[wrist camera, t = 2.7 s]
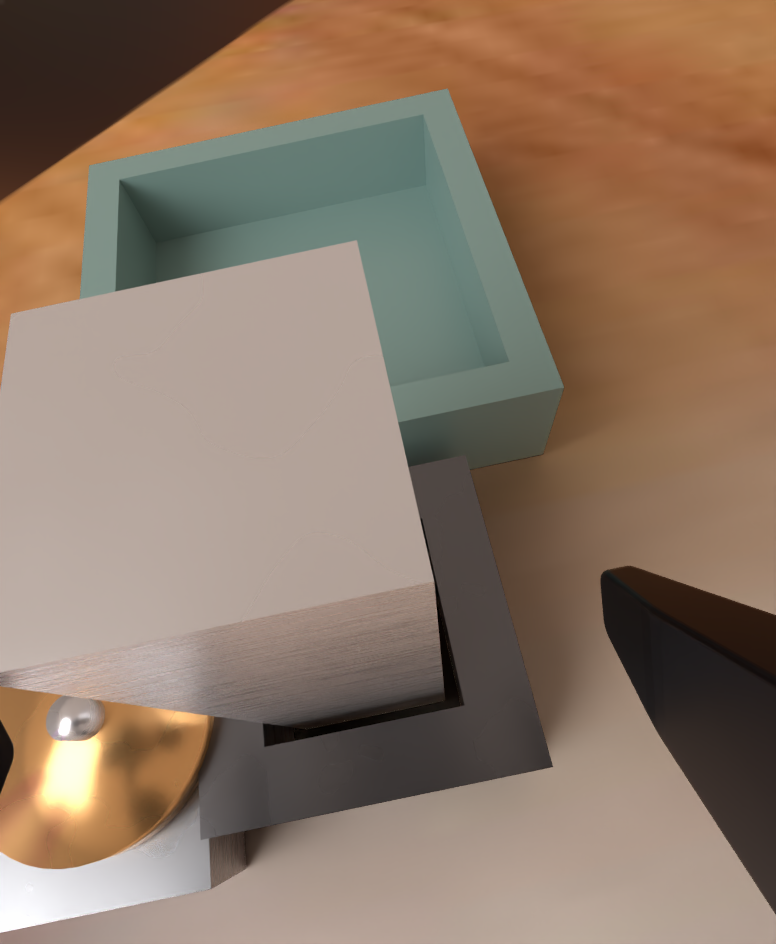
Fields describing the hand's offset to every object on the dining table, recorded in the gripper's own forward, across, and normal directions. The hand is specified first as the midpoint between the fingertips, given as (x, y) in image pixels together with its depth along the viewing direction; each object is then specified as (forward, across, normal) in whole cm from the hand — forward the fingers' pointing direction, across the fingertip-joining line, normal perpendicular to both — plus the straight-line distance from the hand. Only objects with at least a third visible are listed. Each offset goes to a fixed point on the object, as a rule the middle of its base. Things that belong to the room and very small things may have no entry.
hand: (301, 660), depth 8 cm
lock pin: (+8, 0, +5) cm, 9 cm away
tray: (+16, 0, -3) cm, 16 cm away
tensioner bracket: (+7, +3, +6) cm, 10 cm away
